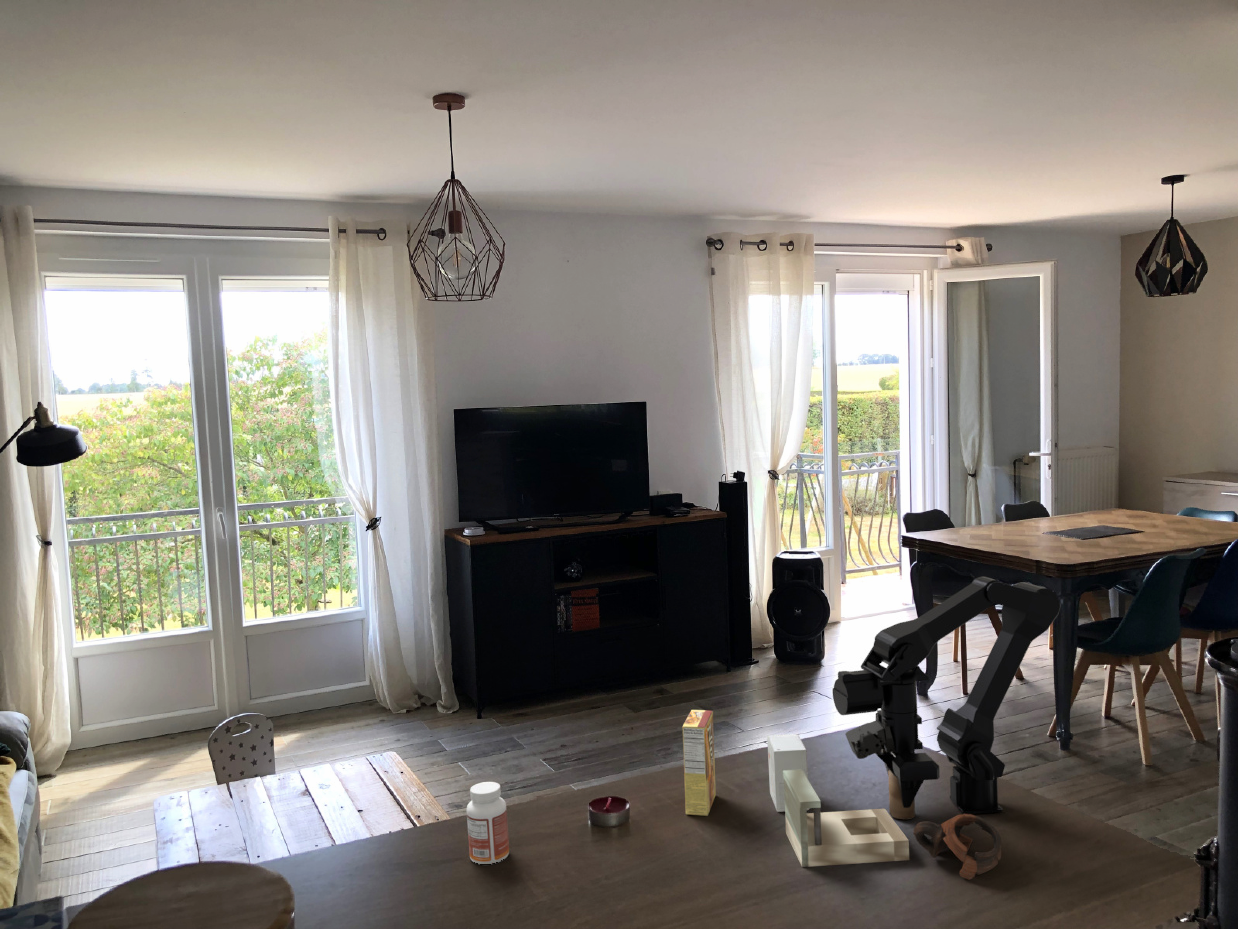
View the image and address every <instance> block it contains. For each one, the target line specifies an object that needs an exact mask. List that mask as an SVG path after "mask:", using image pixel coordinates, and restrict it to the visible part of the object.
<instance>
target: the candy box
mask: <svg viewBox="0 0 1238 929" xmlns="http://www.w3.org/2000/svg"><path fill="white" fill-rule="evenodd" d="M714 728H715V727H714V711H713V710H707V709H706V710H704V709H690V712H689V713H688V715H687V717H686V719H685V721H684V722H683V725H682V745H683V746H682V747H683V748H682V749H683V771H684V772H683V774H684V776H683V777H684V778H683V779H684V804H685V805H684V808H685V815H687V816H689V815H690V816H691V815H692V816H701V817H702V816H705V817H708V816H709V813H710V811H711V809H712V807H713V803H714V801H715V797H716V773H715V772H716V770H715V769H716V768H715V739H714V737H715V735H714Z"/></svg>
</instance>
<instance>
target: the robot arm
mask: <svg viewBox="0 0 1238 929" xmlns="http://www.w3.org/2000/svg"><path fill="white" fill-rule="evenodd" d="M995 605H999V606H1002V608H1001V630H1000V631H999V634H998V636H997V638H996V640H995V642H994V644H993V646H992V648H991V650H990V652H989V654H988V656H987V658H986V660H985V662H984V664H983V667H982V669H981V670H980V673H979V675H978V677H977V679H976V680H975V682H974V685H973V687H972V689H971V691H970V692H969V695H968V697H967V699H966V701H965V703H964V704H963V705H962V706H960V707H959V708H958V709H957V710H954V709H952V708H951V707H950V708H947V709H946V710H945V712H944V715H943V719H942V721H941V722H940V724H939V725H938V726H937V727H936V730H938V733H937V736H936V741H937V744H938V747H939V749H940V751H941V752H942V753H944V754H945V756H946V758H947V760H948V761H947V762H949V763H952V764H953V765H954V766H952V775H951V776H950V777H949V784H950V795H949V800H950V801H951V802H952V803H953V804H954V805H955V806H956V807H957V808H958V809H959V810H960V811H961V813H962V814H971V815H974V814H975V815H976V814H988V813H1002V812H1003V807H1002V806H1001V805H1000V804H999V796H998V795H999V792H998V791H999V790H998V778H1002V776H1003V774H1004V770H1005V767H1006V764H1005V763H1004V762H1003V761H1002V760H1001V759H1000V758H998V757H997V755H995V754H994V753H993V752H992V751H991V750H992V748H993V744H994V741H995V726H994V725H995V724H994V723H995V718H996V715H997V713H998V711H999V709H1000V707H1001V705H1002V703H1003V700H1005V698H1006V695H1007V692H1008V691H1009V689H1010V686H1011V685H1012V683H1013V680H1014V679H1015V676H1016V675H1017V672H1018V670H1019V668H1020V666H1021V664H1022V662H1023V660H1024V657H1025V656H1026V654H1027V651H1028V650H1029V647H1030V645H1031V644H1032V642H1033V641H1034V640H1036V639H1037V638H1038V637H1040V636H1041V635H1042V634H1044V633H1046V632H1047V631H1048V630H1049V628H1050V627H1051V625H1052V624H1053V623H1054V621H1055V619H1057V617H1058V616H1059V613H1060V610H1061V602H1060V600H1059V597H1058V595H1057V594H1056V592H1055V591H1053V590H1052V589H1050V588H1046V587H1043V586H1039V585H1037V584H1036V585H1035V584H1032V583H1029V582H1026V581H1025V582H1024V581H1022V582H1017V583H1014V584H1010V583H1009V584H1008V583H1004V582H1002V581H1000V580H998V579H994V578H991V577H987V576H979V577H976V578H974V579H973V580H972V582H971V583H970V584H969V585H967V586H965V587H964V588H963V589H961V590H959V591H957V592H956V593H954V594H953V595H951V596H950V597H948V598H947V599H945V600H943V601H942V602H941V603H939V604H937V605H935V606H934V607H933V608H931V609H930V610H928V611H927V612H925V613H924V614H922V615H920V616H919V617H917V618H914V619H912V620H906V621H902V622H897V623H896V624H893V625H891V626H888V627H886V628H884V629H882V630H880V631H879V632H878V633H877V634H876V635H875V637H874V641H873V646H872V648H870V651H869V652H868V653H867V655H866V657H865V659H864V660H863V661H862V663H861V665H860V668H861V669H860V670H854V671H853V670H851V671H848V670H841V671H840V670H839V671H838V672H837V679H836V680H835V681H834V684H833V688H832V699H833V703H834V706H835V709H836V711H837V712H838V714H839V715H840V716H848V715H849V716H850V715H857V714H867V713H868V714H869V713H874V712H875V720H874V721H870V722H866V723H864V724H862V725H859V726H857V727H854V728H852V729H850V730H848V731H845V732H846V733H845V734H844V735H845V738H846V740H847V741H848V742H847V743H848V744H849V747H850V749H851V751H852V753H853V754H854V755H855V756H856V758H857V760H862V759H865V758H868V757H870V756H871V755H874V754H875V755H876V756H877V758H879V760H881V761H882V762H883V763H884V766H885V769H886V772H887V774H888V771H889V770H890V771H891V773H892V774H893V775H894V776H896V777H897V779H898V785H899V790H900V795H901V800H902V805H903V807H904V808H909V807H911V804H912V802H913V800H914V798H916V796H917V795H918V793H919V790H920V789H921V786H923V782H924V781H932V780H933V781H934V780H939V779H940V777H941V776H940V775H941V774H940V765H939V764H938V763H937V762H936V761H935V760H934V759H933V758H932V757H931V756H930V755H929V754H928V753H927V752H917V753H916V752H915V751H916V750H923V748H924V747H923V746H924V744H923V742H922V741H921V740H920V739H919V725H923V721H922V720H923V719H922V716H920V714H919V713H918V693H917V692H918V691H917V687H918V686H917V683H918V682H924V681H929V680H930V676H929V675H928V674H926V673H925V672H924V670H922V668H921V667H920V666H919V665H920V664H922V662H923V661H924V660H926V659H927V658H928V657H929V655H930V653H931V652H932V649H933V648H934V646H935V645H936V644H937V643H938V642H940V640H942V639H944V638H945V637H946V636H948V635H949V634H952V633H953V632H954V631H955V630H957V629H959V628H961V627H962V626H963V625H965V624H966V623H968V622H970V621H971V620H972V619H974V618H976V617H978V616H979V615H980V614H981V613H983V612H985V611H986V610H988V609H990V608H991V607H992V606H995ZM882 663H884V664H886V665H887V667H885V666H883V665H882ZM879 709H880V710H879Z"/></svg>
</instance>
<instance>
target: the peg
mask: <svg viewBox="0 0 1238 929" xmlns="http://www.w3.org/2000/svg"><path fill="white" fill-rule="evenodd" d="M887 777H888V800H889V802H888V804H889V806H888V808H889V815H890V816H891V818H895V819H897V820H898V819H899V820H910V819H913V818H915V817H916V803H915V798H916V797H915V798H914V800H913V802H912V804H911V807H909V808H904V807H903V805H902V800H901V795H900V790H899V785H898V779H897V777H896V776H894V775H893V774H892V773H891V771H890V770H889V771H888V773H887Z"/></svg>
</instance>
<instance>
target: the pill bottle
mask: <svg viewBox="0 0 1238 929" xmlns="http://www.w3.org/2000/svg"><path fill="white" fill-rule="evenodd" d="M469 791H470V792H469V795H470V800H471V801H469V803H468V804H467V806H466V821H467V822H466V823H467V824H466V825H467V836H468V838H467V839H468V853H469V859H470V860H471V861H472V862H473V863H474V862H475V863H474V864H476V863H478V865H480V864H491V865H493V864H492V863H495V864H497V863H496V862H498V863H500V862H502V861H504V860H505V859H507V857H508V856H509V854H510V842H509V841H510V840H509V838H510V837H509V826H508V812H507V811H508V810H507V803H506V801H505V800H504V798H502V797H501V794H502V792H501V784H500V783H498V782H495V781H483V782H478V783H476V784H474V785H472V786H471V787H470V788H469ZM503 859H504V860H503ZM501 860H502V861H501Z"/></svg>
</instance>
